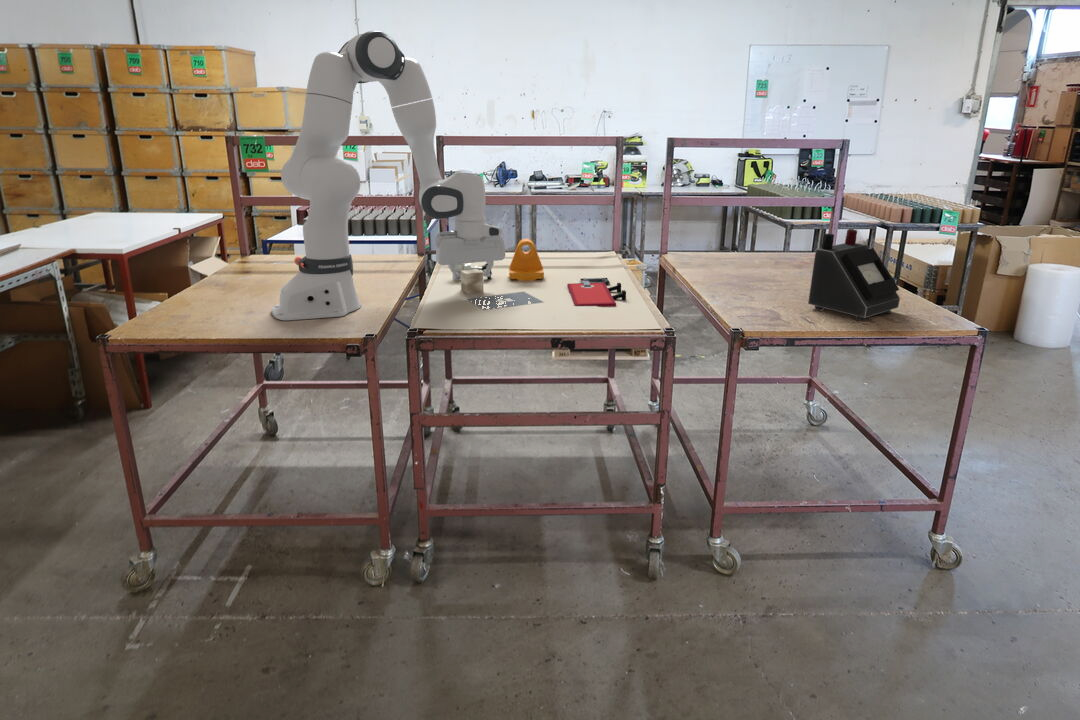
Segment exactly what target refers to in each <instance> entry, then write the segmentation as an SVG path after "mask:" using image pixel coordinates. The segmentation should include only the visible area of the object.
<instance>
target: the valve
mask: <svg viewBox="0 0 1080 720" xmlns="http://www.w3.org/2000/svg"><path fill="white" fill-rule="evenodd" d="M487 265H488V264H487V263H485V264H484V265H482V266H480V265H472V263H464V264H455V268H454V270H455V272H458V273H459V279H461V271H463V270H473V269H477V270H479V271H481V272H483V270H486V268H487ZM492 269H493V267H492V268H491V270H490V276H488V277H486V278H487V280H491V279H492V275H493V273H492Z"/></svg>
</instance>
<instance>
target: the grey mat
mask: <svg viewBox="0 0 1080 720" xmlns="http://www.w3.org/2000/svg"><path fill="white" fill-rule="evenodd" d="M495 296H496V297H495ZM501 296H503V297H501ZM476 297H477V296H476ZM476 297H470V298H469V297H467V298H466V300H467V301H469V302H470V303H472V304H473V305H475V300H476V299H477V300H476V305H477V306H476V305H475V306H476V307H478V306H479V307H478V308H480V309H481V310H482V306H484V307H486V308H487V306H489V307H490V308H489V309H490V310H496V309H497V310H498V308H497V307H498V305H497V304H498V303H499V302H500V303H501V302H504V304H502V305H499V306H502V307H503V308H504V305H507V306H506V307H505V308H509V307H510V308H511V307H518V306H519V307H520V306H525V305H529V304H528V301H530V302H531V304H530V305H532V304H533V305H534V304H541V303H544V301H543V300H541V299H539V298H537V297H535V296H533V295H531V294H529V293H527V292H525V291H519V292H510V293H501V294H494V295H492V294H491V295H487V296H486V295H485V296H478V297H477V298H476ZM480 297H482V298H480ZM485 297H487V298H485ZM497 297H499V298H497ZM500 297H501V298H503V299H500ZM489 298H490V299H489ZM495 298H496V299H495ZM528 298H530V299H528ZM498 299H500V300H498ZM479 300H481V301H480V304H481V305H478V304H479ZM484 300H486V301H485V304H486V305H483V301H484ZM514 300H515V301H514ZM471 301H472V302H471ZM488 301H490V304H489V305H487V303H488ZM496 301H497V302H496ZM505 301H506V304H505ZM496 303H497V304H496ZM513 303H514V305H513ZM486 308H484V309H483V310H482V311H488V309H487V310H486ZM493 308H495V309H493ZM503 308H502V309H503Z"/></svg>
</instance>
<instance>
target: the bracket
mask: <svg viewBox="0 0 1080 720" xmlns="http://www.w3.org/2000/svg"><path fill="white" fill-rule="evenodd" d="M524 246H528V247H529V248H530V249H529V250H528V251H524V250H523V249H522V248H523V247H524ZM508 272H509V273H508V275H509V277H508V279H509V280H517V281H520V282H521V281H523V282H524V281H526V282H527V281H529V282H531V281H537V280H540V279H541V280H542V279H544V278H545V271H544V267H543V264H542V262H541V259H540V256H539V254H538V252H537V249H536V246H535V244H534V242H533V240H531V239H530V238H522V239H520V240H519V241H518V243H517V246H516V249H515V251H514V254H513V255H512V259H511V262H510V264H509V268H508Z"/></svg>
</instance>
